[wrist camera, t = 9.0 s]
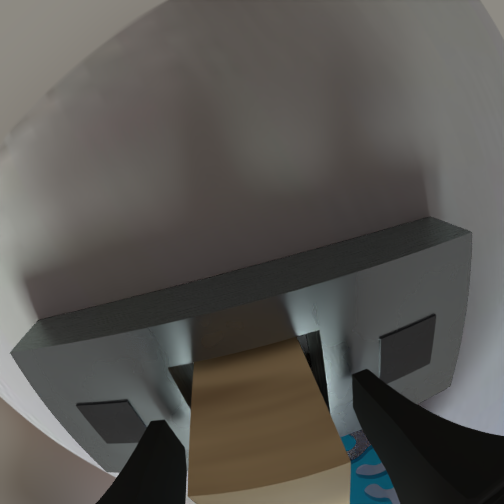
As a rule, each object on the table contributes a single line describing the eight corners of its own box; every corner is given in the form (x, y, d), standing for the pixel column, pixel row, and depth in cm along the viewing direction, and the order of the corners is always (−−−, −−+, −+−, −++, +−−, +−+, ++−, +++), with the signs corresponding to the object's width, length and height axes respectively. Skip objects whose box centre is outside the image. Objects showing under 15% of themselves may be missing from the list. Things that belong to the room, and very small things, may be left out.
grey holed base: (424, 357, 15) (451, 387, 12) (115, 436, 15) (106, 473, 12) (430, 216, 12) (473, 232, 9) (38, 320, 12) (9, 353, 9)
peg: (298, 373, 14) (349, 507, 7) (222, 392, 14) (234, 533, 6) (284, 308, 13) (350, 461, 5) (196, 331, 13) (187, 496, 5)
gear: (387, 414, 14) (404, 534, 10) (371, 404, 19) (389, 504, 15) (210, 450, 15) (241, 562, 11) (235, 434, 21) (259, 530, 16)
